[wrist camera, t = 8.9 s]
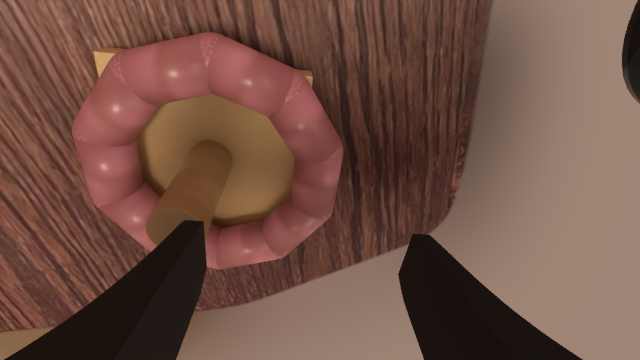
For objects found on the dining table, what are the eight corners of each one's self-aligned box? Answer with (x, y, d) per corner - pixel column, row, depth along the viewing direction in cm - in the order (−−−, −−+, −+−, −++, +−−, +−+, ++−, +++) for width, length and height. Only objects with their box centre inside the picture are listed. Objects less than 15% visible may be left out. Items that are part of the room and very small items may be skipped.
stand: (312, 70, 15) (321, 122, 9) (295, 221, 20) (294, 318, 14) (107, 46, 14) (-26, 87, 8) (140, 211, 18) (69, 312, 13)
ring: (357, 47, 13) (367, 56, 12) (320, 254, 19) (323, 282, 18) (63, 9, 12) (20, 12, 10) (122, 243, 18) (102, 273, 16)
